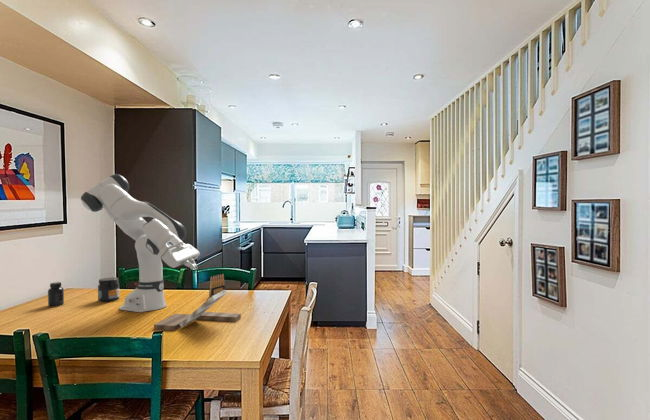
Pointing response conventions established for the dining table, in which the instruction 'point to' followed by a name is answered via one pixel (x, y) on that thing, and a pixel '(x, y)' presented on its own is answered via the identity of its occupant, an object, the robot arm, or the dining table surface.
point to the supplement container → (108, 289)
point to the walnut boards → (176, 319)
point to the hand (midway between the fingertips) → (195, 267)
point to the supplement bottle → (55, 294)
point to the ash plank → (203, 308)
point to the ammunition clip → (216, 285)
